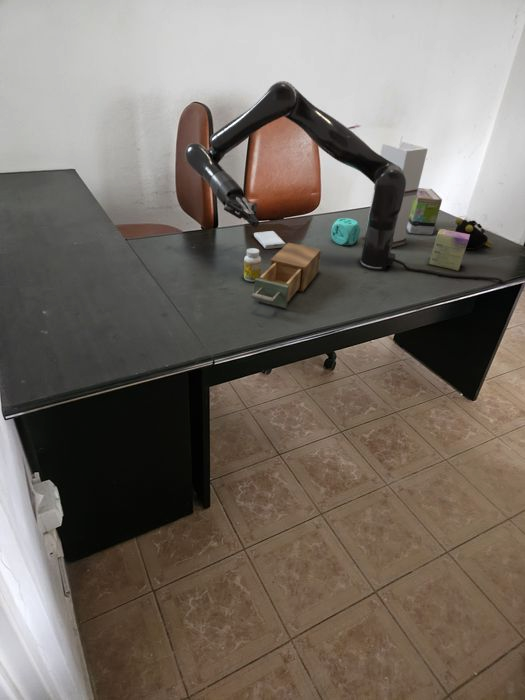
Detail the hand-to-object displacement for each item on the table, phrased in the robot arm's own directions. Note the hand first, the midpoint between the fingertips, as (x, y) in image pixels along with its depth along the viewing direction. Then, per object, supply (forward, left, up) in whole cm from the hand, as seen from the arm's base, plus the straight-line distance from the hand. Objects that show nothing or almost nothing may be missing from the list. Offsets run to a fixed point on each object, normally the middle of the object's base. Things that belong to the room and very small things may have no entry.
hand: (256, 225), depth 142 cm
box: (-55, -45, -19) cm, 73 cm away
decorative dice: (-17, -47, -19) cm, 53 cm away
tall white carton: (-31, -56, -19) cm, 67 cm away
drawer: (-11, +8, -18) cm, 22 cm away
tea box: (-40, -78, -19) cm, 90 cm away
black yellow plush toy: (-62, -67, -19) cm, 93 cm away
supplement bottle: (+1, -1, -19) cm, 19 cm away
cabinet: (-11, -8, -18) cm, 23 cm away
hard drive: (+8, -32, -19) cm, 38 cm away
